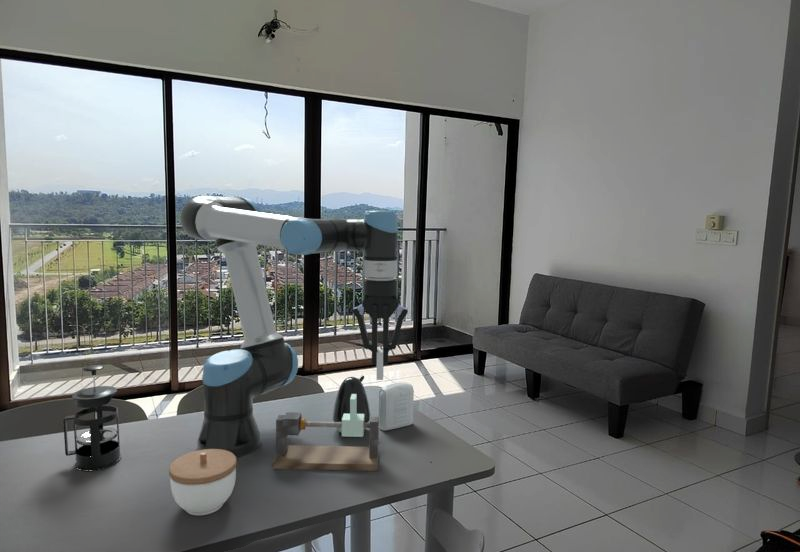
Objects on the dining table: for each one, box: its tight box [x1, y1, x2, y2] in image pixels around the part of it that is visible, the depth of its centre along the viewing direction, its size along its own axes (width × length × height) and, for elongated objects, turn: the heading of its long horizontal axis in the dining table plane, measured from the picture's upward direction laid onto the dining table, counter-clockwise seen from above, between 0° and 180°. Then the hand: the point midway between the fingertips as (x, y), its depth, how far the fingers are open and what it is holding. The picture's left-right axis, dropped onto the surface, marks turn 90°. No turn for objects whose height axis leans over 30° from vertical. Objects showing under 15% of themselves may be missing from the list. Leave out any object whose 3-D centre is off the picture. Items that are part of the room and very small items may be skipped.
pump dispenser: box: [332, 374, 371, 434], centre depth 140 cm, size 10×10×15 cm
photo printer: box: [378, 381, 415, 432], centre depth 144 cm, size 10×4×12 cm, turn 123°
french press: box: [62, 364, 122, 472], centre depth 120 cm, size 12×9×23 cm
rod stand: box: [272, 411, 380, 472], centre depth 124 cm, size 24×9×11 cm, turn 90°
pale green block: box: [341, 394, 365, 438], centre depth 123 cm, size 5×4×9 cm
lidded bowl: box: [168, 449, 237, 517], centre depth 104 cm, size 13×13×11 cm
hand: (379, 378), depth 122 cm, fingers closed
